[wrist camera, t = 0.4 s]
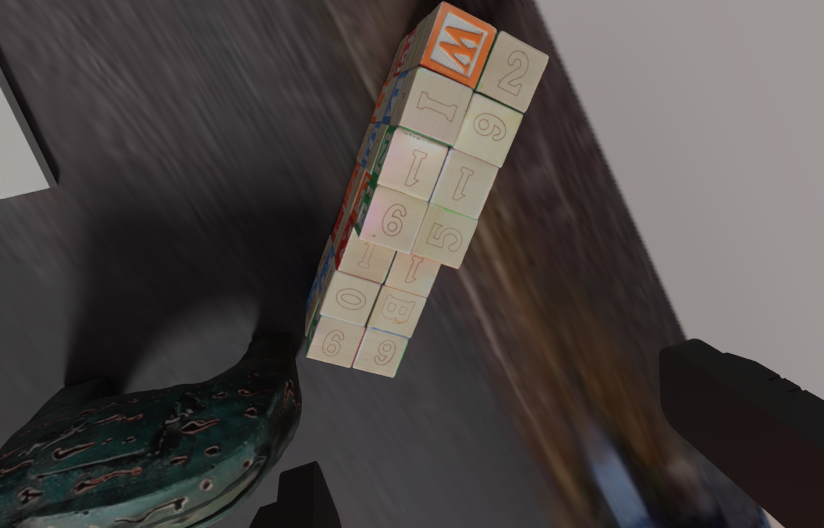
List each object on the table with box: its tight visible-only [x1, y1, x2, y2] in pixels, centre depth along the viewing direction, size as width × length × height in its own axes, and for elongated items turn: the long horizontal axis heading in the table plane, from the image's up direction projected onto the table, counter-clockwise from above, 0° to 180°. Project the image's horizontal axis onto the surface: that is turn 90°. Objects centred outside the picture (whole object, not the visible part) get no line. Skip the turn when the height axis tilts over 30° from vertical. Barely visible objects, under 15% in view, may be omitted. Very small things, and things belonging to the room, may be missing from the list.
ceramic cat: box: [0, 333, 302, 528], centre depth 28 cm, size 20×6×20 cm, turn 100°
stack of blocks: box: [305, 1, 549, 377], centre depth 30 cm, size 21×6×12 cm, turn 158°
